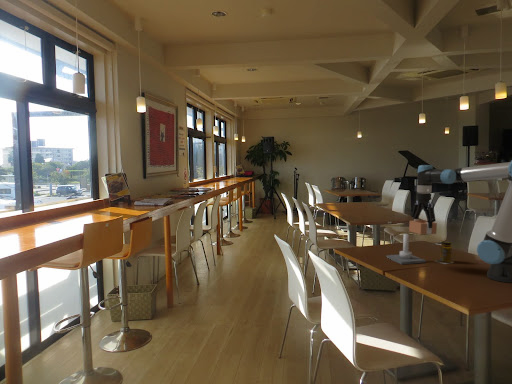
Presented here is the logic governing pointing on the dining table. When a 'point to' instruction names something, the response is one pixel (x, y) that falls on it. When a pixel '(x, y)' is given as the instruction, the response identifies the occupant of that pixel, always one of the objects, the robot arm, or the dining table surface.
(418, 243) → the dining table surface
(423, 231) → the collar
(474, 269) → the dining table surface
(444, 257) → the condiment
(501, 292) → the dining table surface
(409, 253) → the post stand
